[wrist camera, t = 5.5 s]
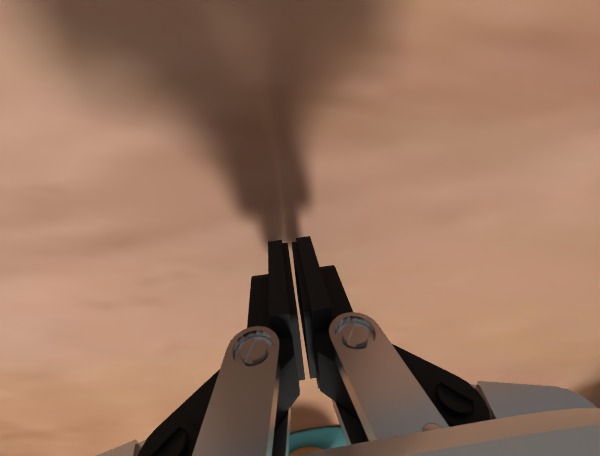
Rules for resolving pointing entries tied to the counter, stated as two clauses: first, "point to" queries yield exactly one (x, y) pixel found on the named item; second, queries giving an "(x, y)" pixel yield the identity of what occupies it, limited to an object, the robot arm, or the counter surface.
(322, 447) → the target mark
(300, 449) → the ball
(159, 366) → the counter surface
